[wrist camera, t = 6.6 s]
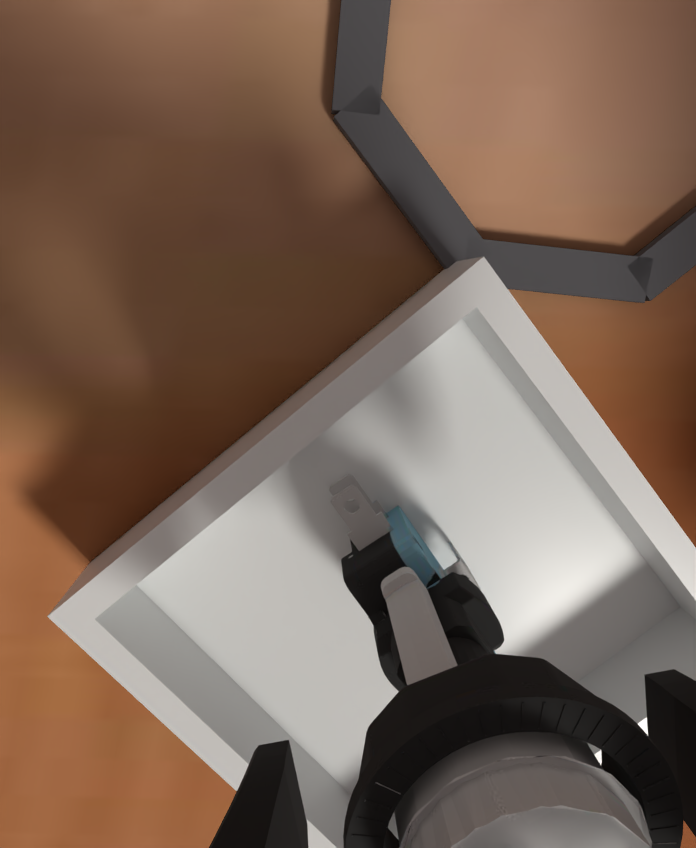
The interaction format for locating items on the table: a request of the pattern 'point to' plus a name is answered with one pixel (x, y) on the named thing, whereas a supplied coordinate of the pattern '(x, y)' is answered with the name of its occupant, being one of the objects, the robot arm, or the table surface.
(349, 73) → the seat ring
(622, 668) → the tray
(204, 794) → the table surface
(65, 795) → the table surface
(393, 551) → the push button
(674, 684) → the robot arm
